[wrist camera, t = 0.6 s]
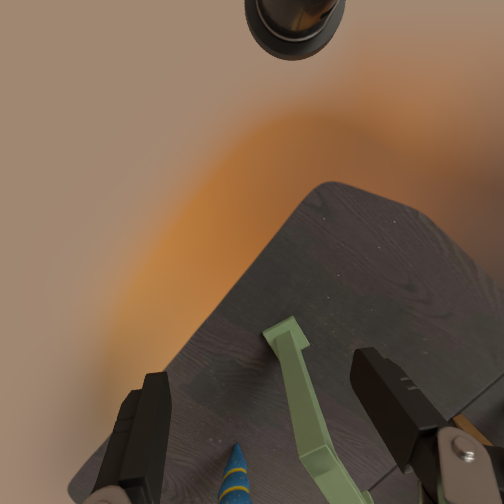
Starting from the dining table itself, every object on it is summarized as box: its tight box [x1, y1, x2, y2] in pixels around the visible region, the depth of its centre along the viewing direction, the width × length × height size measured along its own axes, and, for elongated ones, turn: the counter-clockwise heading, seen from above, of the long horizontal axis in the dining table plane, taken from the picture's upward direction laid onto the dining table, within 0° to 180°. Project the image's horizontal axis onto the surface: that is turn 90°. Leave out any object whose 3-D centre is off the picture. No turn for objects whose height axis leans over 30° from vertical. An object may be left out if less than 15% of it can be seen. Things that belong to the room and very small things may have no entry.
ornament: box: [218, 444, 252, 504], centre depth 35 cm, size 5×5×15 cm
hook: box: [263, 315, 374, 504], centre depth 30 cm, size 14×5×19 cm, turn 30°
